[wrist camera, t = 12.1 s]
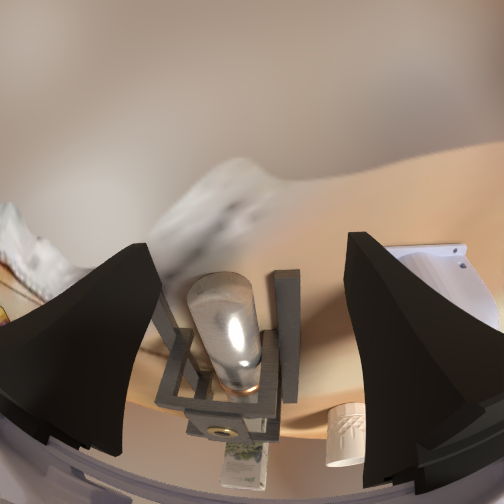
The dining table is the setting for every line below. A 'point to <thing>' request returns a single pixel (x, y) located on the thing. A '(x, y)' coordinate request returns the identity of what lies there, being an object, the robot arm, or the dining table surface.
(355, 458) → the white cup
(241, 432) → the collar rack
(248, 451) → the syrup box
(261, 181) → the dining table surface
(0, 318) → the candy box
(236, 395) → the steel tube
